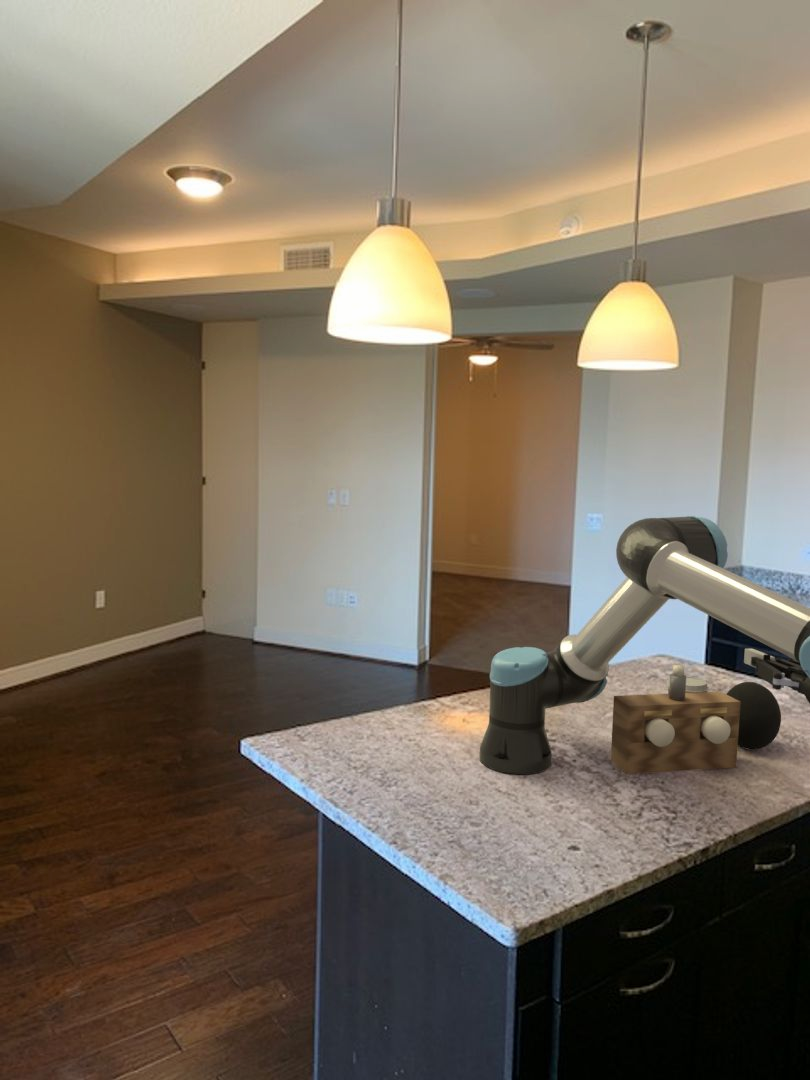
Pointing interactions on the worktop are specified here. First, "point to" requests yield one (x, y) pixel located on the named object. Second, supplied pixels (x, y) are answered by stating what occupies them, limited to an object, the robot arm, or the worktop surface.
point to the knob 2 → (715, 729)
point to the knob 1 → (659, 732)
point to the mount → (688, 742)
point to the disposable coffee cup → (693, 685)
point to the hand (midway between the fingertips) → (748, 655)
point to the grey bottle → (677, 684)
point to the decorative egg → (756, 715)
